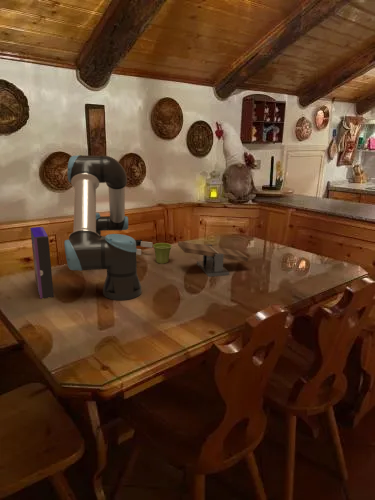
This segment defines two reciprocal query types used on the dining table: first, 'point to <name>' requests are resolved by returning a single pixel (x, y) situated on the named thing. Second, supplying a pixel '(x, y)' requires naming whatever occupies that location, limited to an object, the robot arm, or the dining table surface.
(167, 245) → the plant pot
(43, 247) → the cereal box
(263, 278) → the dining table surface
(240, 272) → the dining table surface
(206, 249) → the balance beam
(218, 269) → the beam stand
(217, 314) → the dining table surface
